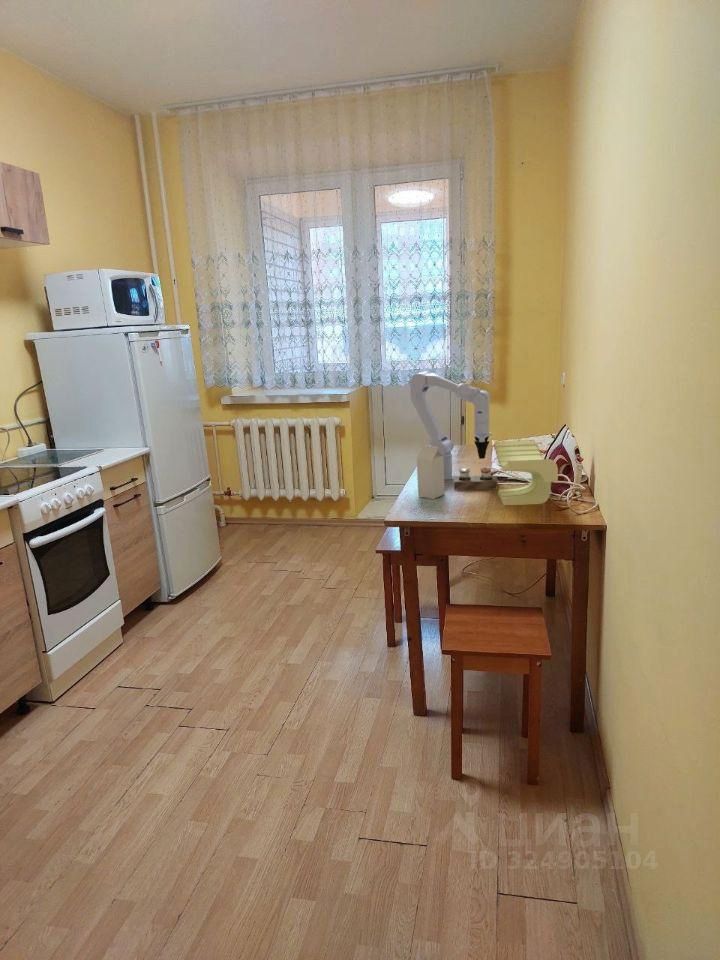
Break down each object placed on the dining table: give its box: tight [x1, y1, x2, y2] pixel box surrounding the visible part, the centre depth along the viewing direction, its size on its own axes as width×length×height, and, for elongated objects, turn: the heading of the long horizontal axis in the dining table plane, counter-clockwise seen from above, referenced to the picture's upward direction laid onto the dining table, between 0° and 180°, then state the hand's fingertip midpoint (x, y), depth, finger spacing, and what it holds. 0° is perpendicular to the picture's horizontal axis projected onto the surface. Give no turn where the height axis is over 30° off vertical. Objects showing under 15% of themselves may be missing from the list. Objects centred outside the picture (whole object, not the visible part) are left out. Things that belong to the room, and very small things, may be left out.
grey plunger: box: [458, 467, 471, 480], centre depth 228 cm, size 4×4×4 cm
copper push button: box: [479, 467, 492, 480], centre depth 226 cm, size 4×4×4 cm
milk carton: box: [416, 444, 446, 500], centre depth 217 cm, size 7×7×19 cm
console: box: [453, 475, 498, 490], centre depth 228 cm, size 16×8×3 cm, turn 79°
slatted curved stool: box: [494, 439, 559, 506], centre depth 207 cm, size 30×16×18 cm, turn 175°
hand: (481, 456), depth 233 cm, fingers open, 7 cm apart
